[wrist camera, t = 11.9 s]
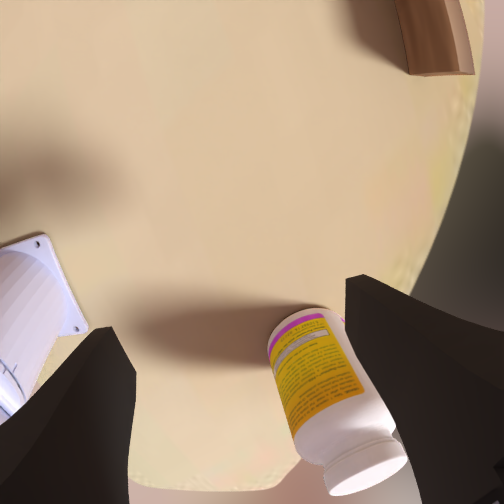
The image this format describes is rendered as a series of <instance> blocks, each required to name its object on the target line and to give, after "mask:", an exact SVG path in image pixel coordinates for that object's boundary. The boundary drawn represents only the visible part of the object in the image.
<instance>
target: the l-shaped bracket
mask: <svg viewBox="0 0 504 504" xmlns="http://www.w3.org/2000/svg"><path fill="white" fill-rule="evenodd" d="M394 2H395V6H396V9H397V13H398V17H399V22H400V26H401V30H402V35H403V40H404V45H405V50H406V56H407V62H408V68H409V74H410V75H416V76H425V77H426V76H443V75H475V71H474V64H473V58H472V52H471V47H470V42H469V37H468V33H467V29H466V24H465V20H464V17H463V13H462V9H461V6H460V2H459V0H394Z"/></svg>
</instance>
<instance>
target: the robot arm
mask: <svg viewBox="0 0 504 504" xmlns="http://www.w3.org/2000/svg"><path fill="white" fill-rule="evenodd" d="M36 241H38V242H39V243H40V246H39V245H38V244H37V242H36ZM76 327H78V328H79V329H78V328H76ZM88 329H89V326H88V324H87V322H86V320H85V318H84V316H83V314H82V312H81V310H80V308H79V306H78V304H77V302H76V300H75V298H74V296H73V293H72V291H71V289H70V287H69V285H68V283H67V280H66V278H65V276H64V273H63V271H62V269H61V266H60V264H59V262H58V259H57V257H56V254H55V252H54V249H53V246H52V244H51V241H50V239H49V237H48V236H47V235H46V234H41V235H37V236H34V237H31V238H29V239H26V240H23V241H20V242H17V243H14V244H11V245H8V246H6V247H3V248H0V504H129V494H128V455H129V446H130V438H131V431H132V423H133V416H134V409H135V402H136V371H135V369H134V367H133V365H132V364H131V362H130V360H129V358H128V357H127V355H126V353H125V351H124V349H123V347H122V346H121V344H120V342H119V340H118V338H117V336H116V334H115V332H114V330H113V328H112V326H111V327H105V328H98V329H95V330H93V331H92V332H91V333H90V334H89V335H88V336H87V337H86V338H85V339H84V340H83V341H82V342H81V343H80V344H79V346H78V347H77V348H76V349H75V350H74V351H73V352H72V353H71V354H70V355H69V357H68V358H67V359H66V360H65V361H64V362H63V363H62V364H61V366H60V367H59V368H58V369H57V370H56V371H55V372H54V374H53V375H52V376H51V377H50V378H49V379H48V380H47V381H46V382H45V383H44V384H43V385H42V386H41V387H40V389H39V390H38V391H37V392H36V393H35V394H34V395H33V396H32V397H31V398H30V399H29V397H30V395H31V392H32V390H33V388H34V385H35V383H36V381H37V379H38V376H39V374H40V372H41V370H42V368H43V365H44V363H45V361H46V359H47V357H48V355H49V353H50V351H51V349H52V347H53V345H54V343H55V341H56V339H57V337H60V336H68V335H76V334H83V333H86V332H87V331H88ZM345 332H346V335H347V337H348V339H349V342H350V344H351V346H352V348H353V351H354V353H355V355H356V357H357V359H358V360H359V362H360V364H361V365H362V367H363V369H364V370H365V372H366V374H367V375H368V377H369V379H370V380H371V382H372V383H373V385H374V387H375V388H376V390H377V392H378V393H379V395H380V397H381V398H382V400H383V402H384V403H385V405H386V407H387V409H388V410H389V412H390V414H391V416H392V418H393V420H394V422H395V425H396V427H397V429H398V432H399V434H400V437H401V439H402V441H403V444H404V446H405V449H406V452H407V455H408V457H409V460H410V463H411V465H412V469H413V472H414V475H415V478H416V482H417V485H418V488H419V492H420V496H421V500H422V504H504V332H502V331H498V330H494V329H491V328H487V327H484V326H481V325H478V324H475V323H472V322H468V321H466V320H463V319H460V318H457V317H455V316H452V315H450V314H448V313H445V312H443V311H441V310H438V309H436V308H434V307H431V306H429V305H427V304H425V303H423V302H421V301H418V300H416V299H414V298H412V297H410V296H408V295H406V294H404V293H402V292H400V291H398V290H396V289H394V288H392V287H390V286H388V285H386V284H384V283H382V282H380V281H378V280H376V279H374V278H372V277H369V276H367V275H364V274H362V275H358V276H355V277H351V278H347V279H346V297H345Z"/></svg>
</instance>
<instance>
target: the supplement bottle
mask: <svg viewBox="0 0 504 504" xmlns="http://www.w3.org/2000/svg"><path fill="white" fill-rule="evenodd" d="M267 352H268V357H269V361H270V364H271V368H272V371H273V374H274V378H275V381H276V384H277V388H278V391H279V395H280V398H281V401H282V405H283V408H284V411H285V415H286V418H287V421H288V425H289V428H290V431H291V435H292V438H293V441H294V444H295V448H296V450H297V452H298V454H299V455H300V456H301V457H302V458H303V459H304V460H306V461H307V462H310V463H312V464H317V465H323V467H324V469H325V470H324V477H323V479H324V482H325V485H326V488H327V490H328V493H329V494H330V495H333V496H341V495H347V494H351V493H355V492H358V491H361V490H364V489H366V488H369V487H371V486H373V485H375V484H377V483H379V482H381V481H383V480H385V479H386V478H388V477H390V476H391V475H393V474H394V473H395V472H397V471H398V470H400V469H401V468H402V467H403V466H404V465H405V463H406V462H407V456H406V454H405V452H404V450H403V447H402V445H401V443H399V442H397V440H396V439H393V437H392V435H391V433H392V432H393V430H394V429H395V427H396V425H395V422H394V420H393V418H392V416H391V414H390V412H389V410H388V409H387V407H386V405H385V403H384V402H383V400H382V398H381V397H380V395H379V393H378V392H377V390H376V388H375V387H374V385H373V383H372V382H371V380H370V379H369V377H368V375H367V374H366V372H365V370H364V369H363V367H362V365H361V364H360V362H359V360H358V359H357V357H356V355H355V353H354V351H353V348H352V346H351V344H350V342H349V339H348V337H347V335H346V332H345V321H344V319H343V318H342V317H341V316H340V315H339V314H337V313H336V312H334V311H332V310H329V309H324V308H310V309H305V310H302V311H299V312H296V313H294V314H292V315H290V316H289V317H287V318H286V319H284V320H283V321H282V322H281V323H280V324H279V325H278V326H277V327H276V328H275V329H274V331H273V332H272V334H271V336H270V338H269V341H268V347H267Z"/></svg>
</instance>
